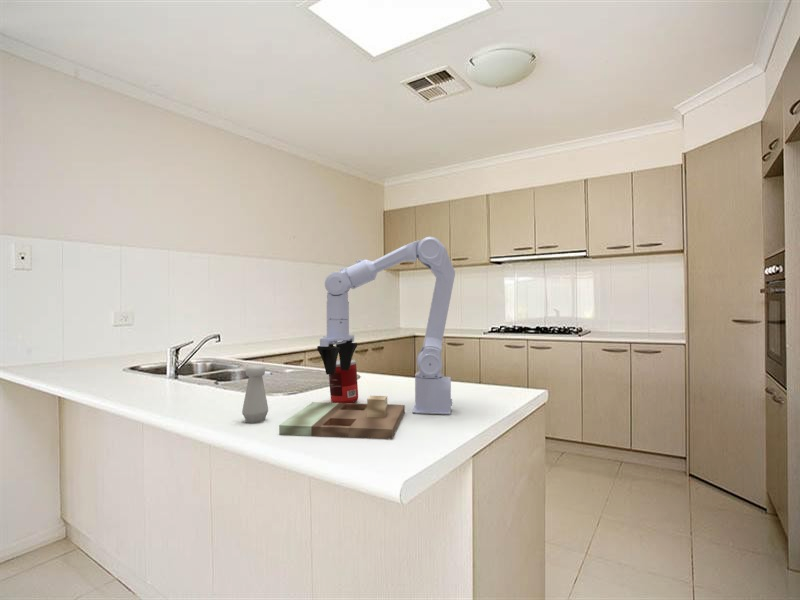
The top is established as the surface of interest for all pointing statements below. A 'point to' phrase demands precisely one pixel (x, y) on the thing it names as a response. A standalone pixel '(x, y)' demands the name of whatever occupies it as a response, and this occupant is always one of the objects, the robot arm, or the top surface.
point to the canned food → (344, 384)
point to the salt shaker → (255, 395)
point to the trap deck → (342, 421)
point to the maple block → (377, 406)
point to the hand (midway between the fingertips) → (338, 372)
